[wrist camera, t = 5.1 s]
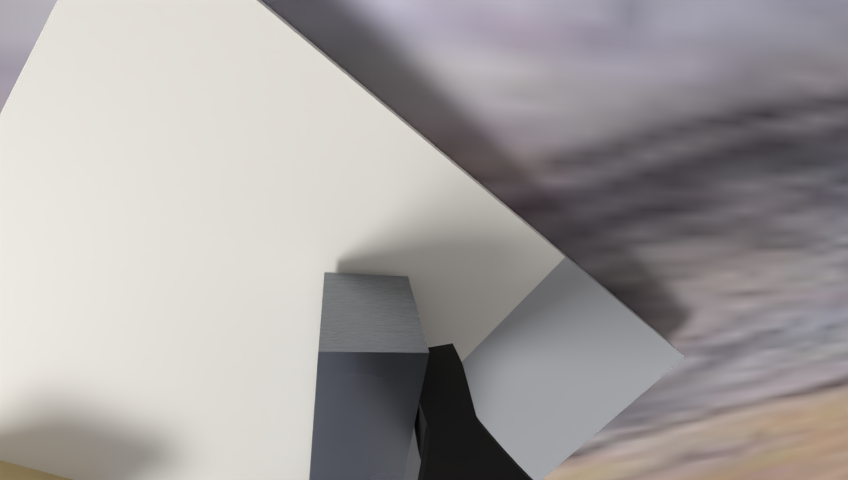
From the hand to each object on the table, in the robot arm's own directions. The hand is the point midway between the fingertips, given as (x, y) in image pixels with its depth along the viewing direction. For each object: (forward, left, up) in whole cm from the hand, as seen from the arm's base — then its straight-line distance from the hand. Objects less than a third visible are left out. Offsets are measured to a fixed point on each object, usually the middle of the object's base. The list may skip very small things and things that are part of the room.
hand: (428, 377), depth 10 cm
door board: (+1, +3, -2) cm, 4 cm away
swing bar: (0, +3, -1) cm, 3 cm away
